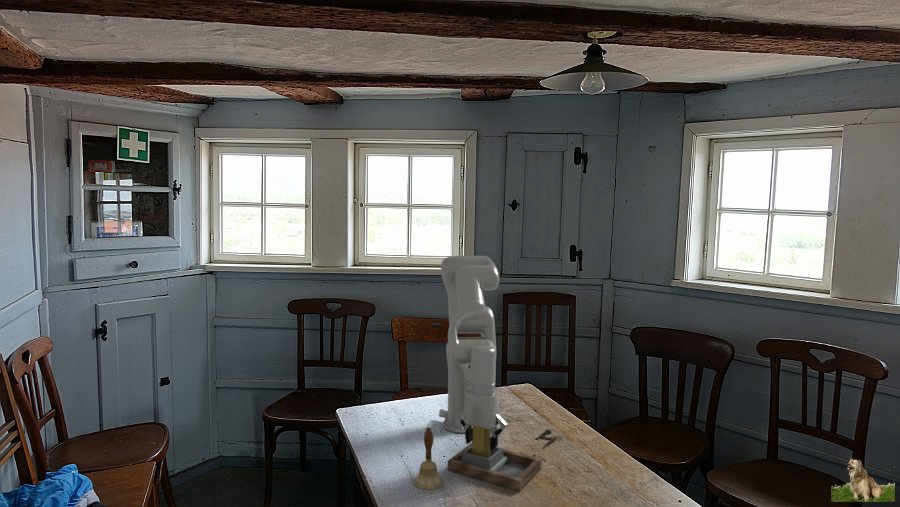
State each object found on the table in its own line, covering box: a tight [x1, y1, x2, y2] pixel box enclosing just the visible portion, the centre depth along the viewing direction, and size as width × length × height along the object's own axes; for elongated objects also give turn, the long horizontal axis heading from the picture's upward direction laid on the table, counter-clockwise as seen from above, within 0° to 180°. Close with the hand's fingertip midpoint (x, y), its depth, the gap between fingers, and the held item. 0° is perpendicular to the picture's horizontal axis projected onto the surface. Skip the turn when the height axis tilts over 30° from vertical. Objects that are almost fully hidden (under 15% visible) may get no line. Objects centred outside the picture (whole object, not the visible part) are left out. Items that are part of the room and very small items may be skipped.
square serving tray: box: [461, 445, 508, 471], centre depth 171 cm, size 11×12×4 cm
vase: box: [471, 426, 491, 458], centre depth 171 cm, size 6×6×14 cm
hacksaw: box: [534, 429, 563, 462], centre depth 186 cm, size 24×10×2 cm, turn 144°
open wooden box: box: [447, 442, 543, 492], centre depth 169 cm, size 23×16×3 cm
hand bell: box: [413, 427, 444, 491], centre depth 161 cm, size 8×8×16 cm
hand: (481, 444), depth 171 cm, fingers open, 7 cm apart
